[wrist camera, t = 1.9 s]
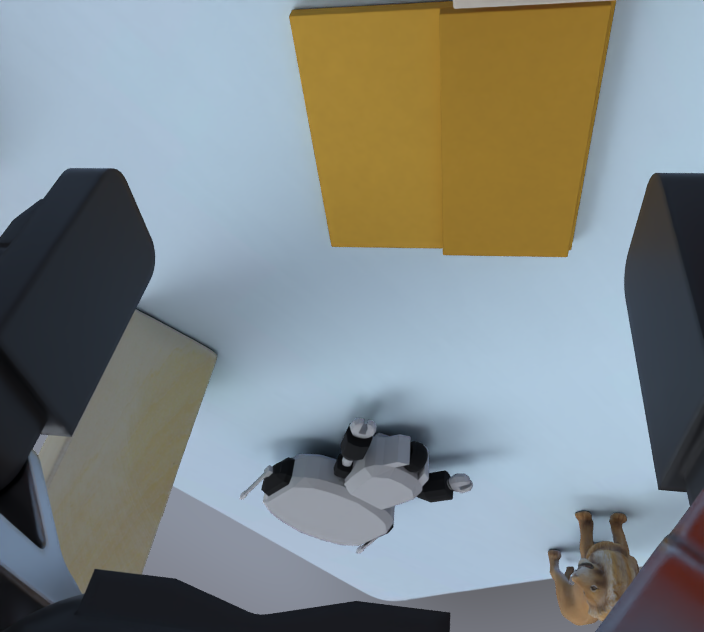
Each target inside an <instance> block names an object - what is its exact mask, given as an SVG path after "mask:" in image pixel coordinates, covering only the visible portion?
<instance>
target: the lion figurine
mask: <svg viewBox="0 0 704 632" xmlns="http://www.w3.org/2000/svg"><path fill="white" fill-rule="evenodd" d="M575 516H576V518H577V519H578V521H579V526H580V533H581V539H580V553H581V559H580V560H579V563H578V569H577V570H574V567H566V568H567V570H566V572H565V574H563V573H562V572H561V571H560V570H559V566H558V565H559V559H560V558H561V552H560V551H558V550H549V551H548V556H549V561H550V574H551V576H552V578H553V579H554V581H555V585H556V595H557V599H558V603H559V607H560V610H561V613H562V615H563V616H564V617H565V618H567V619H568V620H569V621H571V622H572V623H574V624H576V625H585V624H592V623H594V622H596V621H597V620H600V621H603V620H604V619H605V618H606V616H607V615H608V614H609V612H610V611H611V609H612V608H613V607H614V605H615V604H616V603H617V601H618V600H619V599H620V597H621V596H622V594H623V593H624V592H625V590H626V589H627V588H628V586H629V585H630V584H631V582H632V581H633V579H634V578H635V577H636V575H637V574H638V573H639V567H638V564H637V561H636V559H635V558H634V557H632V556H630V555H629V548H628V545H627V542H626V538H625V535H624V532H623V529H622V524H623V523H625V522H626V521H627V518H626V516H625V514H623V513H613V514H612V515H611V516H610V520H609V522H610V525H611V530H612V534H613V540H614V543H613V542H609V541H602V542H599V543H596V544H594V542H593V520H592V515H591V514H590V512H587V511H580V512H577V513H575ZM572 573H573V574H572ZM571 574H572V581H573V582H575V584H574V585H572V584H571V583H570V582H569V579H570V576H571Z"/></svg>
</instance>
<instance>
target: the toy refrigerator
mask: <svg viewBox="0 0 704 632" xmlns="http://www.w3.org/2000/svg"><path fill="white" fill-rule="evenodd" d="M216 360H217V354H216V353H214V352H213V351H212V350H210V349H209V348H207V347H205V346H203V345H202V344H200V343H198V342H196V341H195V340H193V339H191V338H189V337H187V336H185V335H183V334H181V333H180V332H178V331H176V330H174V329H172V328H170V327H169V326H167V325H165V324H163V323H161V322H159V321H157V320H156V319H154V318H152V317H150V316H148V315H146V314H144V313H142V312H140V311H138V310H136V309H135V311H134V313H133V315H132V317H131V319H130V321H129V323H128V325H127V327H126V329H125V331H124V333H123V335H122V337H121V339H120V341H119V343H118V345H117V347H116V349H115V351H114V353H113V355H112V357H111V359H110V361H109V363H108V365H107V367H106V369H105V371H104V373H103V375H102V377H101V379H100V381H99V383H98V385H97V387H96V389H95V391H94V393H93V395H92V397H91V399H90V401H89V403H88V405H87V407H86V409H85V411H84V413H83V415H82V417H81V419H80V421H79V423H78V425H77V427H76V429H75V431H74V433H73V435H72V437H65V436H54V435H48V437H47V438H46V440H45V443H44V444H43V446H42V448H41V450H40V452H39V455H38V456H39V459H40V462H41V466H42V470H43V475H44V479H45V483H46V488H47V492H48V496H49V501H50V505H51V509H52V514H53V518H54V522H55V527H56V531H57V535H58V540H59V544H60V548H61V553H62V556H63V559H64V561H65V564H66V566H67V568H68V570H69V572H70V574H71V575H72V577H73V578H74V580H75V582H76V583H77V585H78V587H79V589H80V591H81V593H82V594H85V591H86V589H87V586H88V584H89V581H90V579H91V577H92V574H93V572H94V569H101V570H109V571H117V572H125V573H133V574H141V575H142V572H143V569H144V566H145V564H146V561H147V558H148V555H149V552H150V550H151V546H152V543H153V541H154V538H155V535H156V532H157V529H158V526H159V523H160V520H161V517H162V516H163V513H164V510H165V507H166V503H167V501H168V498H169V495H170V491H171V489H172V486H173V483H174V480H175V477H176V474H177V471H178V468H179V465H180V462H181V459H182V456H183V453H184V451H185V448H186V445H187V442H188V440H189V437H190V434H191V431H192V428H193V425H194V422H195V419H196V417H197V414H198V411H199V408H200V405H201V402H202V400H203V397H204V394H205V391H206V388H207V385H208V383H209V380H210V377H211V375H212V372H213V369H214V366H215V363H216Z"/></svg>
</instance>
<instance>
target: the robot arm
mask: <svg viewBox="0 0 704 632" xmlns="http://www.w3.org/2000/svg"><path fill="white" fill-rule="evenodd" d="M154 266H155V250H154V245H153V241H152V239H151V236H150V234H149V232H148V229H147V227H146V225H145V222H144V220H143V218H142V216H141V213H140V211H139V209H138V206H137V204H136V202H135V199H134V197H133V195H132V192H131V190H130V188H129V186H128V183H127V181H126V179H125V177H124V176H123V174H122V173H121V172H120V171H118V170H117V169H111V168H70V169H67V170H66V171H64V172H63V173H62V174H61V176H60V177H59V178H58V180H57V181H56V182H55V184H54V185H53V186H52V188H51V189H50V191H49V192H48V193H47V195H46V196H45V197H44V199H40V200H39V201H38V202H36V203H35V204H34V205H32V206H31V207H30V208H28V209H27V210H26V211H24V212H23V213H22V214H20V215H19V216H18V217H16V218H15V219H14V220H13V221H12V222H11V224H10V225H9V226H8V228H7V229H6V230H5V232H4V233H3V234H2V235H1V237H0V632H450V613H449V612H441V611H432V610H424V609H415V608H408V607H400V606H392V605H384V604H376V603H367V602H360V601H354V602H347V603H340V604H333V605H327V606H321V607H314V608H307V609H301V610H293V611H287V612H280V613H273V614H265V615H259V614H253V613H250V612H247V611H246V610H243V609H241V608H239V607H237V606H234V605H232V604H230V603H228V602H226V601H224V600H221V599H219V598H217V597H215V596H212V595H210V594H208V593H206V592H204V591H201V590H199V589H197V588H195V587H193V586H191V585H188V584H186V583H184V582H182V581H180V580H177V579H173V578H166V577H157V576H149V575H141V574H133V573H125V572H117V571H109V570H101V569H94V572H93V574H92V577H91V579H90V581H89V584H88V586H87V589H86V591H85V594H82V593H81V591H80V589H79V587H78V585H77V583H76V582H75V580H74V578H73V577H72V575H71V574H70V572H69V570H68V568H67V566H66V564H65V561H64V559H63V556H62V553H61V548H60V544H59V540H58V535H57V531H56V527H55V522H54V518H53V514H52V509H51V505H50V501H49V496H48V492H47V488H46V483H45V479H44V475H43V470H42V466H41V462H40V459H39V456H38V455H37V454H36V452H35V451H34V450H33V447H34V445H35V443H36V441H37V439H38V438H39V436H40V434H43V435H54V436H65V437H72V435H73V433H74V431H75V429H76V427H77V425H78V423H79V421H80V419H81V417H82V415H83V413H84V411H85V409H86V407H87V405H88V403H89V401H90V399H91V397H92V395H93V393H94V391H95V389H96V387H97V385H98V383H99V381H100V379H101V377H102V375H103V373H104V371H105V369H106V367H107V365H108V363H109V361H110V359H111V357H112V355H113V353H114V351H115V349H116V347H117V345H118V343H119V341H120V339H121V337H122V335H123V333H124V331H125V329H126V327H127V325H128V323H129V321H130V319H131V317H132V315H133V313H134V311H135V309H136V307H137V305H138V303H139V301H140V299H141V297H142V295H143V293H144V291H145V289H146V287H147V285H148V283H149V281H150V279H151V277H152V275H153V271H154ZM624 290H625V299H626V305H627V310H628V316H629V322H630V328H631V334H632V339H633V345H634V351H635V357H636V362H637V368H638V374H639V380H640V386H641V391H642V397H643V403H644V409H645V414H646V420H647V426H648V432H649V438H650V443H651V449H652V455H653V461H654V467H655V472H656V478H657V484H658V490H667V491H678V492H687V494H688V499H689V504H690V507H689V509H688V510H687V511H686V513H685V514H684V515H683V517H682V518H681V520H680V521H679V522H678V524H677V525H676V526H675V528H674V529H673V530H672V532H671V533H670V534H669V535H667V536H666V537H665V538H664V539H663V541H662V542H661V543H660V544H659V546H658V547H657V548H656V550H655V551H654V552H653V554H652V555H651V556H650V558H649V559H648V560H647V562H646V563H645V564H644V566H643V567H642V569H641V570H640V571H639V573H638V574H637V575H636V577H635V578H634V579H633V581H632V582H631V584H630V585H629V586H628V588H627V589H626V590H625V592H624V593H623V594H622V596H621V597H620V599H619V600H618V601H617V603H616V604H615V605H614V607H613V608H612V609H611V611H610V612H609V614H608V615H607V616H606V618H605V619H604V620H603V622H602V623H601V625H600V626H599V628H598V629H597V630H596V631H595V632H704V173H655V174H653V175H652V176H651V178H650V180H649V183H648V185H647V188H646V192H645V195H644V199H643V202H642V206H641V209H640V213H639V216H638V220H637V223H636V227H635V230H634V234H633V237H632V241H631V244H630V248H629V251H628V255H627V260H626V266H625V277H624Z"/></svg>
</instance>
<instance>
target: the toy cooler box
mask: <svg viewBox="0 0 704 632" xmlns="http://www.w3.org/2000/svg"><path fill="white" fill-rule="evenodd" d="M594 1H613V0H453V7H454V8H455V9H460V8H479V7H498V6H517V5H536V4H555V3H574V2H594Z"/></svg>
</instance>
